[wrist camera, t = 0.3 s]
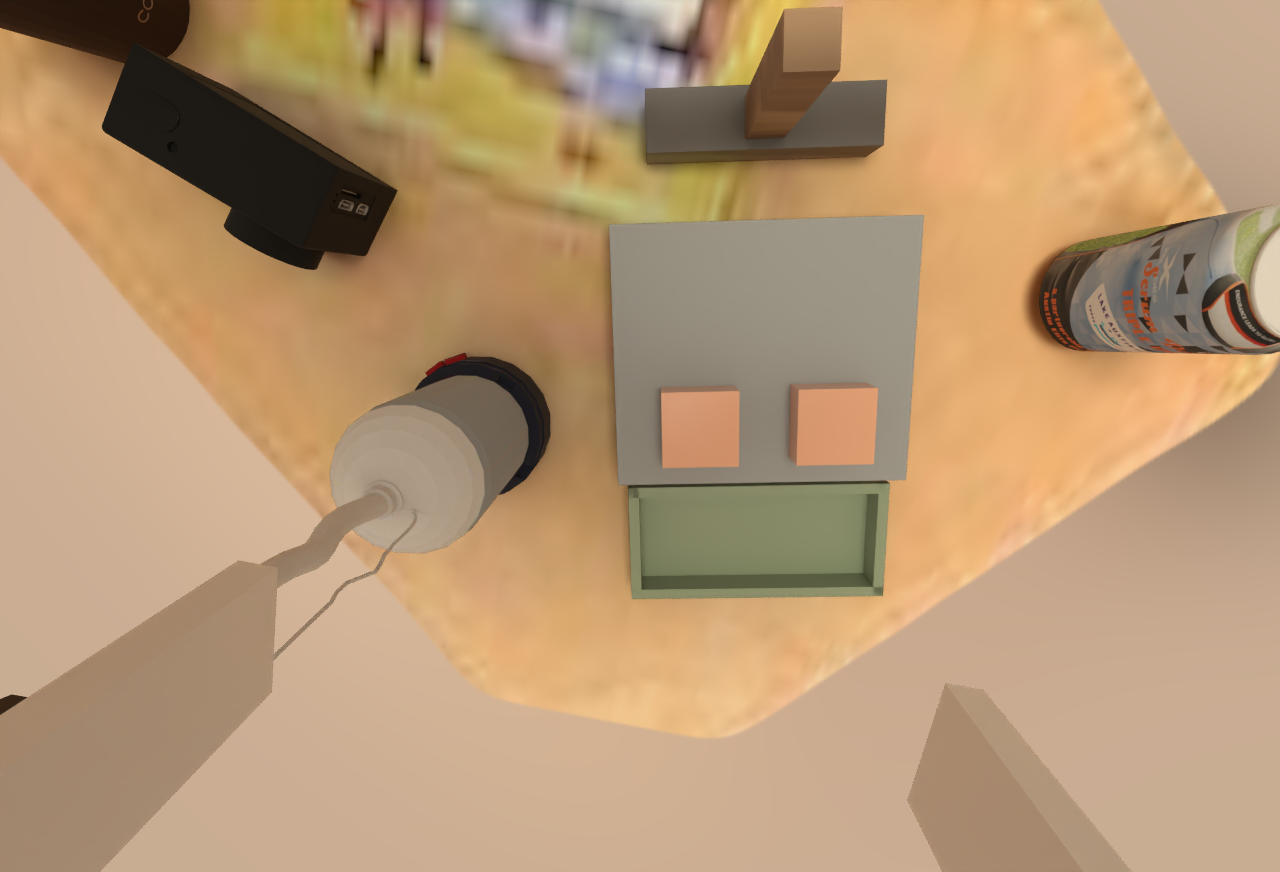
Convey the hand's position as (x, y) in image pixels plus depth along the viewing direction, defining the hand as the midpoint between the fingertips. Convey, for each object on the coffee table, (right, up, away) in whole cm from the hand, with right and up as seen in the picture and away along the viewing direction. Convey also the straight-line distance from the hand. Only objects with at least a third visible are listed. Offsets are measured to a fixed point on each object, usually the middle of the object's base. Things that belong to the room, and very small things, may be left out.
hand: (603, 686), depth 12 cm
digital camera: (-19, +19, +24) cm, 36 cm away
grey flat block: (+7, +10, +25) cm, 28 cm away
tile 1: (+4, +6, +22) cm, 23 cm away
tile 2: (+11, +6, +22) cm, 25 cm away
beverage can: (+26, +13, +24) cm, 38 cm away
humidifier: (-9, +6, +27) cm, 29 cm away
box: (+8, -1, +27) cm, 28 cm away
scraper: (+7, +22, +22) cm, 32 cm away
